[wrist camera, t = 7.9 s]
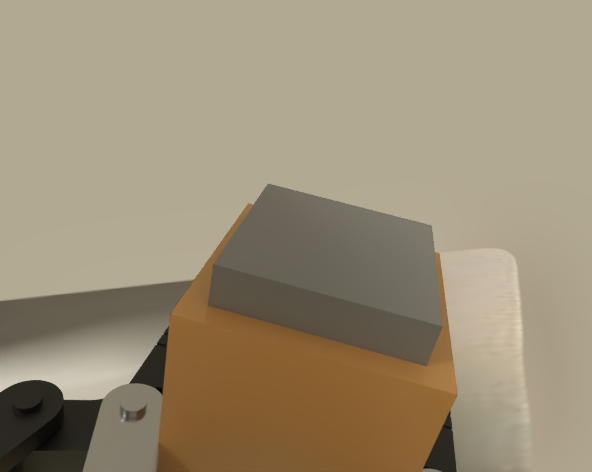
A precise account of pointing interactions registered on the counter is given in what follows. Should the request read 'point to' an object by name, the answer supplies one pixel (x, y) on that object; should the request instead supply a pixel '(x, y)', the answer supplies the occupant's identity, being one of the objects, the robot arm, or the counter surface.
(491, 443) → the counter surface
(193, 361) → the orange tower grey cap
